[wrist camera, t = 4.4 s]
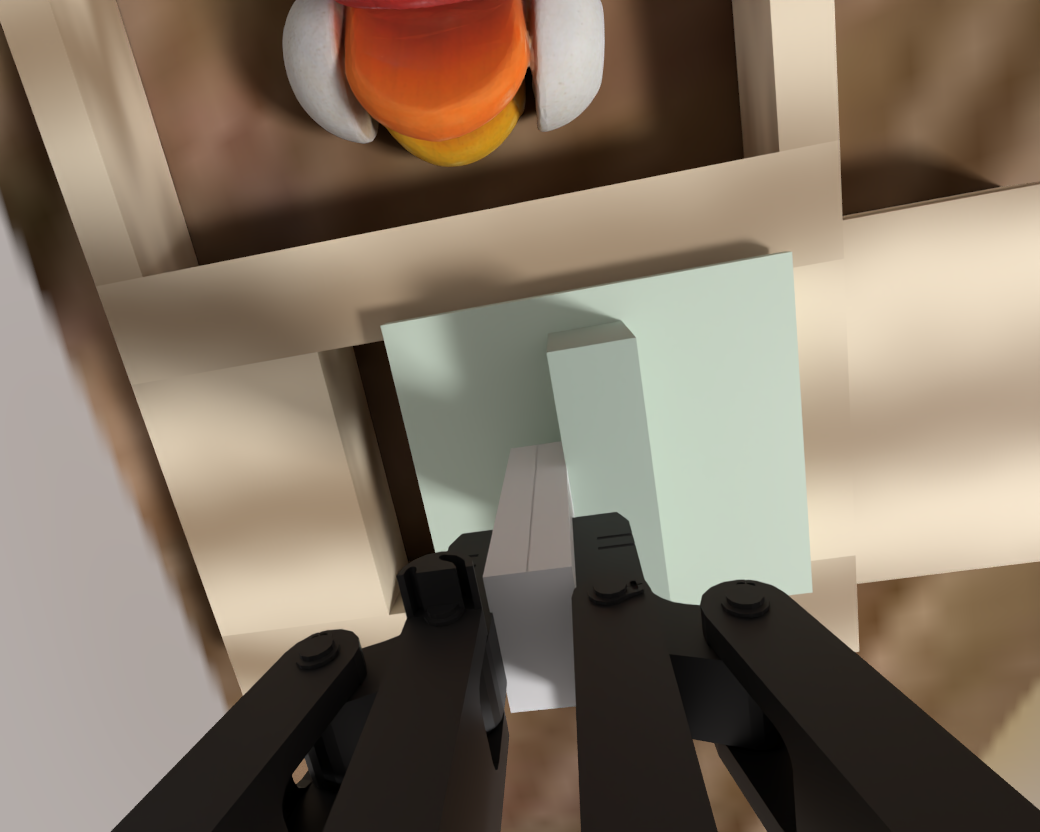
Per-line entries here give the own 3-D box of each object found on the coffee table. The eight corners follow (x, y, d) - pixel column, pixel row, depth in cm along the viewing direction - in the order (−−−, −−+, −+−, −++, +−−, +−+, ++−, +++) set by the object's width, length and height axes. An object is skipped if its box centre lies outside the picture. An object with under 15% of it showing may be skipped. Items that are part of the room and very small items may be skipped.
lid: (386, 322, 17) (343, 342, 14) (783, 251, 16) (845, 253, 13) (458, 624, 20) (438, 705, 16) (805, 581, 19) (861, 658, 15)
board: (-15, -246, 17) (-133, -347, 14) (1023, -560, 14) (1145, -770, 11) (287, 663, 25) (251, 719, 22) (992, 578, 22) (1058, 628, 19)
